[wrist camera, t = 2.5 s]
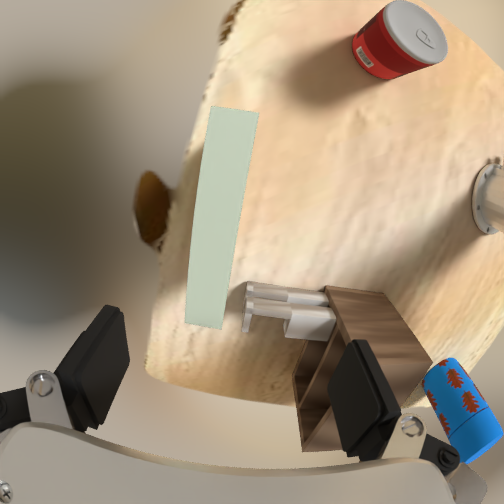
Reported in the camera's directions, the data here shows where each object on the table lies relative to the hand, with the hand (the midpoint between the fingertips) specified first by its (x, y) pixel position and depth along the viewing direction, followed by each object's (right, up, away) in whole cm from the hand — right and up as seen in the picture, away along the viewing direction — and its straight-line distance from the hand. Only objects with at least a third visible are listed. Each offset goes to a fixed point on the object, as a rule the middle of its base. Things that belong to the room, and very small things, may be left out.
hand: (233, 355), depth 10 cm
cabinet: (+9, -9, +31) cm, 33 cm away
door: (-2, +11, +22) cm, 25 cm away
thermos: (+45, -25, +37) cm, 63 cm away
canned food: (+17, +30, +15) cm, 38 cm away
